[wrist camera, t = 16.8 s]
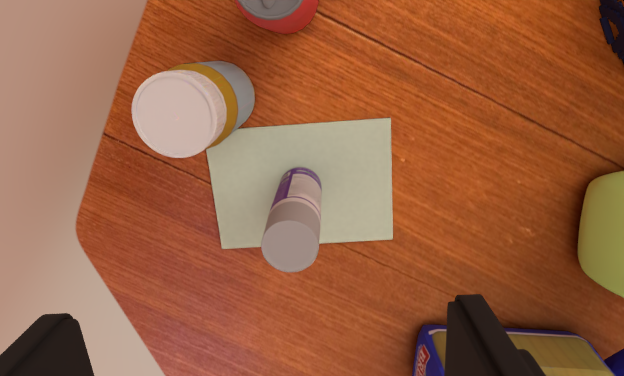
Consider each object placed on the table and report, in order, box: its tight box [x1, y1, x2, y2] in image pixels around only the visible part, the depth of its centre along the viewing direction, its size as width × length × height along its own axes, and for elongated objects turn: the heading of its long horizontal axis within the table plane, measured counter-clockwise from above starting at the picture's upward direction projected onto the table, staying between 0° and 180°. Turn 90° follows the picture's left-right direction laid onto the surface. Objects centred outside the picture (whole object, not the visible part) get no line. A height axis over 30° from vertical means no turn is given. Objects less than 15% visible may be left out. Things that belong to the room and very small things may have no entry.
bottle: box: [132, 61, 255, 158], centre depth 36 cm, size 7×7×15 cm
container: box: [261, 167, 322, 272], centre depth 39 cm, size 5×5×15 cm
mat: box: [206, 118, 393, 249], centre depth 46 cm, size 20×14×1 cm
